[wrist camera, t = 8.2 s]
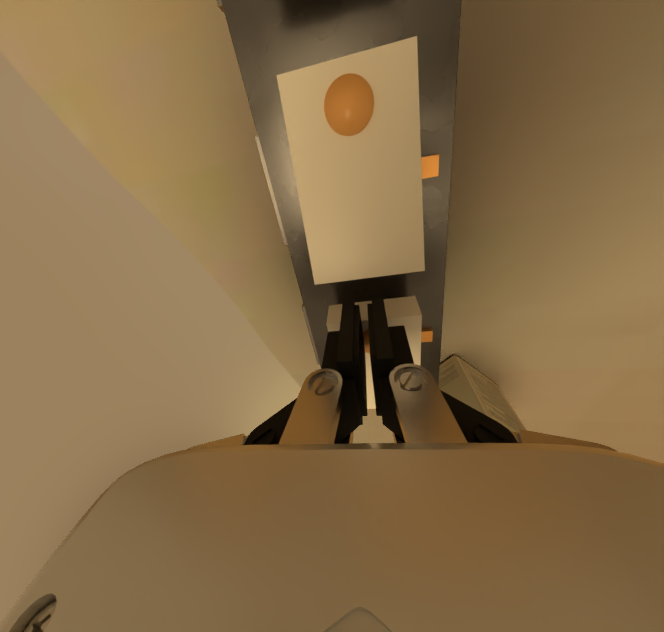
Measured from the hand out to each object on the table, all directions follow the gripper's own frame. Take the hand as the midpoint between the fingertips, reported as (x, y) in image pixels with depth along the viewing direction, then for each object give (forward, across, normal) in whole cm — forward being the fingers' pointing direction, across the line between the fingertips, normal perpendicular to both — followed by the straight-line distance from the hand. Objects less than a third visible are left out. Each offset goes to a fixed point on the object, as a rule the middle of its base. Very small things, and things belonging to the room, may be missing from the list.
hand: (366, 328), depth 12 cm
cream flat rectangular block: (+1, 0, -6) cm, 6 cm away
